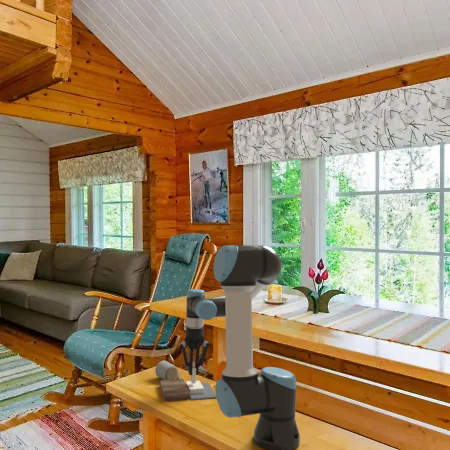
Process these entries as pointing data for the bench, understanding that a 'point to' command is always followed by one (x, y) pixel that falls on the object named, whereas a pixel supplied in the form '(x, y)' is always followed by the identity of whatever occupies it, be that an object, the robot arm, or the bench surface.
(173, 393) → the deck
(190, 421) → the bench surface
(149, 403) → the bench surface
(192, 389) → the white rectangular block
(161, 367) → the ceramic mug
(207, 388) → the mat
